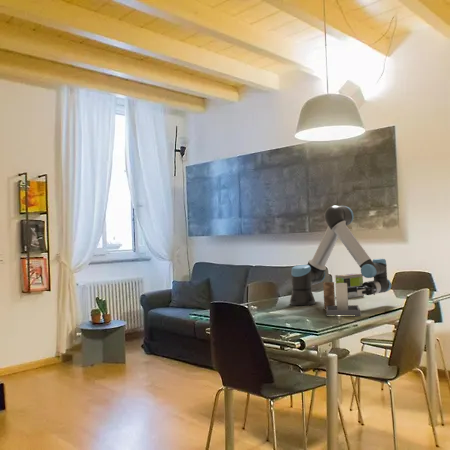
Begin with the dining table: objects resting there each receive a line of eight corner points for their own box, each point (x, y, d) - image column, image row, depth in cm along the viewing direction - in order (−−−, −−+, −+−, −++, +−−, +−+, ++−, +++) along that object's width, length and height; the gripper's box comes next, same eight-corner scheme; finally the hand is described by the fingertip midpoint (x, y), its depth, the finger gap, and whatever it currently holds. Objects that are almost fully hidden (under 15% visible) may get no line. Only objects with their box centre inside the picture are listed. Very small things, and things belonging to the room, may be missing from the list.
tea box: (355, 294, 336) (354, 272, 336) (364, 296, 326) (363, 273, 327) (336, 296, 330) (335, 274, 330) (344, 298, 321) (343, 275, 321)
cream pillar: (337, 312, 263) (335, 284, 263) (336, 310, 268) (335, 283, 269) (348, 312, 261) (347, 283, 262) (348, 310, 267) (346, 282, 268)
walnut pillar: (324, 309, 279) (323, 283, 280) (324, 308, 285) (323, 282, 286) (335, 309, 278) (334, 282, 279) (335, 308, 284) (333, 281, 284)
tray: (326, 316, 258) (326, 310, 258) (326, 311, 275) (326, 305, 275) (360, 316, 255) (360, 310, 255) (358, 310, 272) (357, 305, 272)
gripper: (390, 296, 271) (367, 301, 258) (352, 293, 290) (329, 297, 277) (390, 282, 271) (366, 286, 258) (352, 280, 290) (328, 283, 277)
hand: (347, 292), depth 267 cm, fingers open, 13 cm apart
